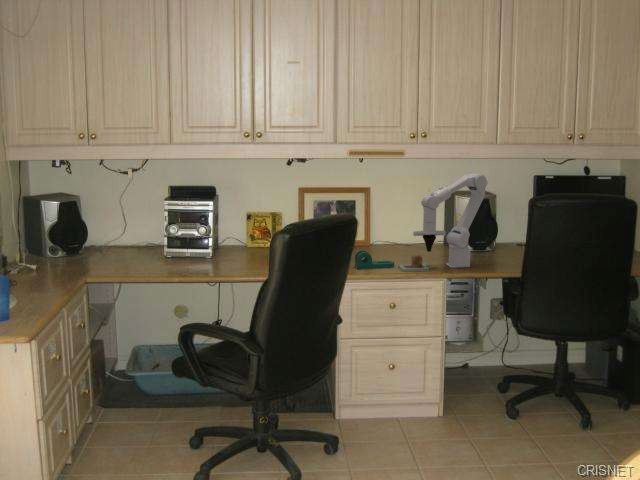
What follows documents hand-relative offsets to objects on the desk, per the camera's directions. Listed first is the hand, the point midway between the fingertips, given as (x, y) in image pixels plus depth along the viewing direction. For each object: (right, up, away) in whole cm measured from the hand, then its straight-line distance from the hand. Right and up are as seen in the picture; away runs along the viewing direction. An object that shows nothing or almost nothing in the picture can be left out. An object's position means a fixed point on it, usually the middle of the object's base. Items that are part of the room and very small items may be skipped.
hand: (428, 251), depth 317 cm
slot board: (-7, -8, +1) cm, 11 cm away
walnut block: (-5, -8, +1) cm, 10 cm away
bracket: (-24, -8, +6) cm, 26 cm away
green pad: (-1, -7, +9) cm, 11 cm away
